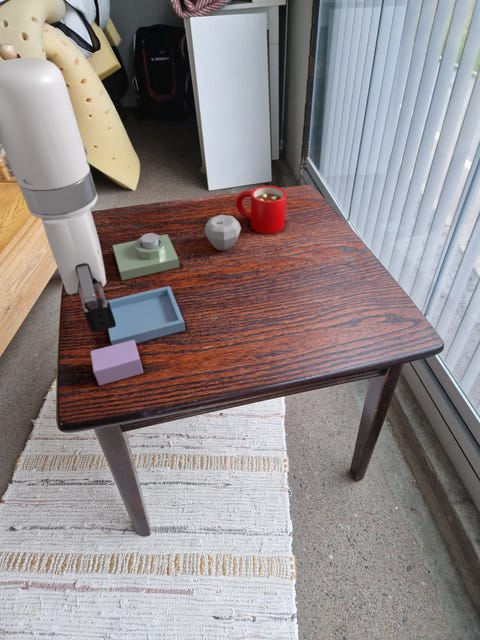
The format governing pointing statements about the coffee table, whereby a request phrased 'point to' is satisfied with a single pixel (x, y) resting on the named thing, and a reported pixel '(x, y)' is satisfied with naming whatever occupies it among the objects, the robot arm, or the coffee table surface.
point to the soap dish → (145, 316)
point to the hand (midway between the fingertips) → (99, 305)
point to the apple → (222, 231)
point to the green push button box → (145, 258)
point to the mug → (264, 208)
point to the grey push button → (149, 241)
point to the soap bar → (116, 362)
